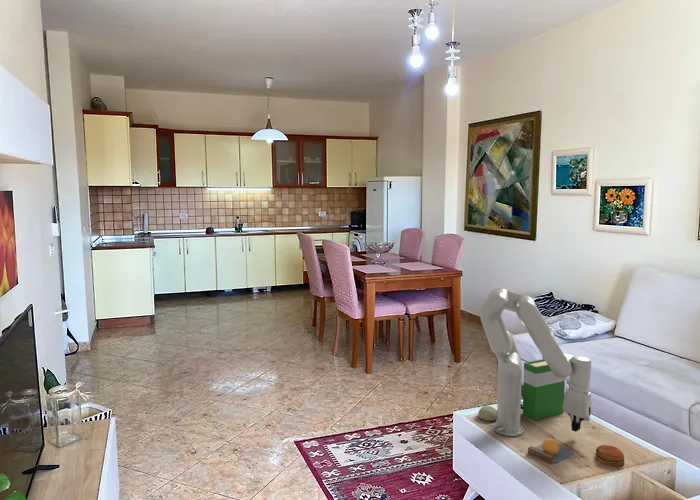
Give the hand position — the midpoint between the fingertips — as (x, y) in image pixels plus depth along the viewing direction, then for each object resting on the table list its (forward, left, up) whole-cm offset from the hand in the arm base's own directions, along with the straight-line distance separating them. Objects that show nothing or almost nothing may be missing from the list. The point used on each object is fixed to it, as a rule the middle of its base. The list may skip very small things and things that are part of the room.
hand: (575, 430), depth 210 cm
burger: (-6, -17, -4) cm, 19 cm away
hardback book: (+12, +22, -4) cm, 25 cm away
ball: (-20, -1, 0) cm, 20 cm away
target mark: (-18, -1, -3) cm, 19 cm away
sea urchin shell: (-12, +34, -4) cm, 36 cm away
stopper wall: (-25, -1, -3) cm, 26 cm away
